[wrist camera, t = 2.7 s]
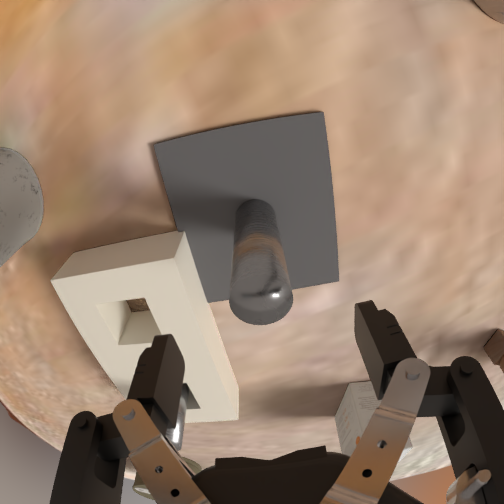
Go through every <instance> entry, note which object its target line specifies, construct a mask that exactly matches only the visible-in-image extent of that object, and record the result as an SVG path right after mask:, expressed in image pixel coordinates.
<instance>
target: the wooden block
mask: <svg viewBox="0 0 504 504" xmlns="http://www.w3.org/2000/svg"><path fill="white" fill-rule="evenodd" d="M484 350H485V351H486V353H487V354H488V356H489V357H490V359H491V361H492V362H493V364H494V365H500V368H501V369H502V371H503V373H504V331H502V330H499V329H498V330H497V331H496V332H495V334H494V335H493V336H492V338H491V339H490V340H489V341H488V343H487V344H486V345H485V346H484Z"/></svg>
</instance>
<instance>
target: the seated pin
mask: <svg viewBox="0 0 504 504" xmlns="http://www.w3.org/2000/svg"><path fill="white" fill-rule="evenodd" d="M188 394H189V386H188V385H187V383H183V385H182V391H181V397H180V403H179V410H178V417H177V423H176V428H172V429H167V431H166V436H167V437H168V439H169V440H170V442H171V443H172V444H173V446H174V447H175V449H176V450H177V451H179V450H180V449H181V446H182V438H183V431H184V423H185V416H186V408H187V401H188Z"/></svg>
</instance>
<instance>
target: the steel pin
mask: <svg viewBox="0 0 504 504" xmlns="http://www.w3.org/2000/svg"><path fill="white" fill-rule="evenodd" d="M292 303H293V295H292V290H291V285H290V280H289V275H288V270H287V266H286V261H285V256H284V251H283V247H282V242H281V237H280V233H279V228H278V224H277V219H276V215H275V211H274V209H273V207H272V206H271V205H270V204H269V203H267V202H266V201H264V200H260V199H251V200H248V201H246V202H244V203H242V204H241V205H240V206H239V208H238V209H237V211H236V215H235V227H234V240H233V253H232V267H231V281H230V296H229V304H230V307H231V310H232V312H233V313H234V314H235V315H236V316H237V317H238V318H239V319H240V320H242V321H244V322H246V323H249V324H254V325H267V324H271V323H274V322H276V321H278V320H280V319H282V318H283V317H284V316H285V315H286V314H287V313H288V312H289V310H290V309H291V307H292Z"/></svg>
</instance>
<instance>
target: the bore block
mask: <svg viewBox="0 0 504 504" xmlns="http://www.w3.org/2000/svg"><path fill="white" fill-rule="evenodd" d="M50 281H51V283H52V285H53V287H54V288H55V290H56V292H57V294H58V296H59V298H60V300H61V301H62V303H63V305H64V307H65V309H66V310H67V312H68V314H69V316H70V317H71V319H72V321H73V322H74V324H75V326H76V327H77V329H78V331H79V332H80V334H81V336H82V337H83V339H84V340H85V342H86V343H87V345H88V347H89V348H90V350H91V351H92V353H93V354H94V356H95V357H96V359H97V360H98V362H99V363H100V365H101V366H102V368H103V369H104V370H105V372H106V373H107V375H108V376H109V377H110V379H111V380H112V382H113V383H114V384H115V386H116V387H117V388H118V390H119V391H120V392H121V394H122V395H123V396H124V398H125V399H127V396H128V393H129V389H130V386H131V382H132V379H133V376H134V374H135V369H136V367H137V363H138V360H139V357H140V355H141V354H142V352H143V351H144V350H145V349H146V348H147V347H151V345H152V342H153V339H154V336H156V335H164V334H172V335H173V336H174V339H175V341H176V343H177V345H178V347H179V349H180V351H181V353H182V355H183V358H184V362H185V373H184V379H183V383H187V385H188V386H189V394H188V401H187V408H186V416H185V423H191V422H214V421H228V420H238V414H239V386H238V384H237V381H236V378H235V376H234V373H233V370H232V368H231V365H230V362H229V359H228V357H227V354H226V351H225V348H224V345H223V343H222V340H221V337H220V334H219V331H218V328H217V325H216V322H215V320H214V317H213V314H212V311H211V308H210V305H209V303H207V300H206V297H205V294H204V291H203V288H202V285H201V282H200V279H199V276H198V272H197V269H196V266H195V263H194V260H193V257H192V254H191V250H190V247H189V244H188V241H187V237H186V234H185V231H183V232H178V231H173V232H168V233H163V234H158V235H153V236H148V237H143V238H138V239H134V240H129V241H124V242H119V243H115V244H110V245H106V246H101V247H96V248H92V249H88V250H83V251H79V252H74V253H73V254H72V255H71V256H70V257H69V258H68V260H67V261H66V262H65V263H64V264H63V266H62V267H61V268H60V269H59V270H58V272H57V273H56V274H55V275H54V276H53V278H52V279H51V280H50ZM138 298H145V300H146V302H147V304H148V306H149V309H150V310H147V311H139V312H131V310H130V308H129V306H128V304H127V302H126V300H131V299H138Z"/></svg>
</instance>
